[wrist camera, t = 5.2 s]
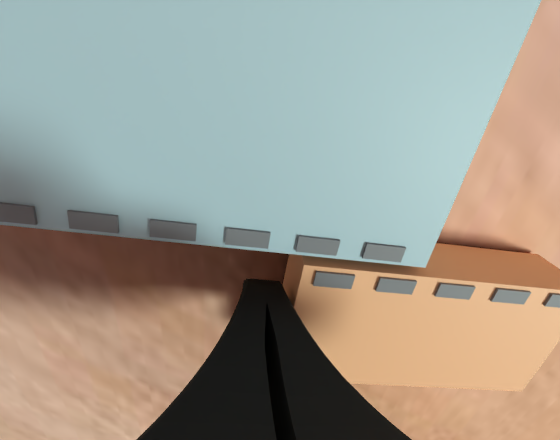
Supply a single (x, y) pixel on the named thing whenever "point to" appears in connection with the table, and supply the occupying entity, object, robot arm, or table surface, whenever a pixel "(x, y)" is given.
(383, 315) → the stub
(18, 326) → the table surface
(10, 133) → the notched pale blue slab
